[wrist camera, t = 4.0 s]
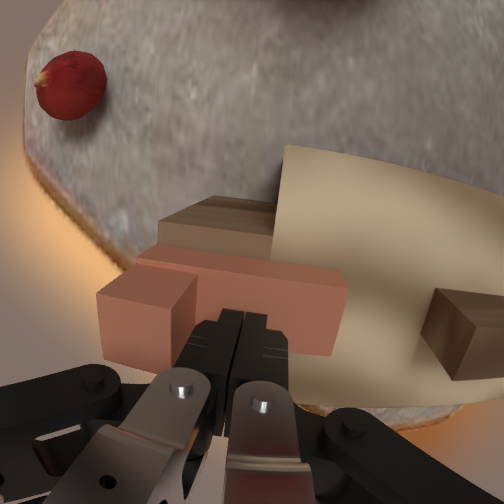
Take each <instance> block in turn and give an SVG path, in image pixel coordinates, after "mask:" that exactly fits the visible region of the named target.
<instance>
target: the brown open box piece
mask: <svg viewBox="0 0 504 504" xmlns="http://www.w3.org/2000/svg"><path fill="white" fill-rule="evenodd" d="M277 205H278V204H275V203H268V202H261V201H253V200H245V199H237V198H229V197H221V196H211V197H209V198H207V199H205V200H203V201H200V202H198V203H196V204H194V205H192V206H189V207H187V208H185V209H183V210H181V211H179V212H177V213H174V214H172V215H170V216H168V217H166V218H164V219H162V220H160V221H158V243H157V245H164V246H171V247H178V248H185V249H192V250H198V251H205V252H212V253H219V254H226V255H233V256H240V257H247V258H254V259H261V260H268V261H270V255H271V248H272V241H273V234H274V227H275V219H276V212H277Z"/></svg>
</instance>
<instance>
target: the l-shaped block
mask: <svg viewBox="0 0 504 504" xmlns="http://www.w3.org/2000/svg"><path fill="white" fill-rule="evenodd" d="M348 291H349V287H348V285H347V283H346V281H345V279H344V277H343V275H342V273H341V272H340V271H339V270H332V269H325V268H317V267H310V266H303V265H296V264H289V263H282V262H275V261H268V260H261V259H254V258H247V257H240V256H233V255H226V254H219V253H212V252H205V251H198V250H192V249H185V248H178V247H171V246H164V245H157V244H155V245H154V246H152V247H151V248H149V249H148V250H146V251H145V252H143V253H142V254H140V255H139V256H137V257H136V264H135V265H133V266H132V267H131V268H129V269H128V270H127V271H125V272H124V273H122V274H121V275H120V276H118V277H117V278H116V279H114V280H113V281H112V282H110V283H109V284H108V285H106V286H105V287H104V288H102V289H101V290H100V291H98V292H97V293H96V298H97V309H98V319H99V327H100V336H101V343H102V350H103V357H104V359H105V360H108V361H112V362H115V363H118V364H122V365H125V366H129V367H133V368H136V369H140V370H143V371H147V372H151V373H155V374H159V373H160V372H162V371H164V370H167V369H170V368H173V367H174V365H175V363H176V361H177V359H178V357H179V355H180V353H181V351H182V349H183V348H184V346H185V344H186V342H187V340H188V338H189V336H190V334H191V332H192V331H193V329H194V327H195V326H196V325H197V324H199V323H200V322H202V321H204V320H210V321H216V322H217V321H218V318H219V316H220V313H221V311H222V309H223V308H226V309H233V310H239V311H244V318H245V314H246V311H247V312H254V313H261V314H268V317H267V326H266V329H271V330H278V331H282V332H283V334H284V335H285V336H286V338H287V339H288V352H291V353H300V354H309V355H318V356H328V357H331V355H332V351H333V348H334V344H335V341H336V337H337V334H338V330H339V326H340V323H341V319H342V315H343V311H344V307H345V303H346V299H347V295H348Z"/></svg>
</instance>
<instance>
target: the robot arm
mask: <svg viewBox="0 0 504 504" xmlns="http://www.w3.org/2000/svg"><path fill="white" fill-rule="evenodd" d="M267 317H268V314H261V313H254V312H247V311H246V314H245V318H244V311H239V310H233V309H226V308H223V309H222V311H221V313H220V316H219V318H218V321H217V322H216V321H210V320H204V321H202V322H200V323H199V324H197V325H196V326H195V327H194V329H193V331H192V332H191V334H190V336H189V338H188V340H187V342H186V344H185V346H184V348H183V349H182V351H181V353H180V355H179V357H178V359H177V361H176V363H175V365H174V367H173V368H170V369H167V370H164V371H162V372H160V373H159V374H158V375H157V376H156V377H155V378H154V379H153V381H152V382H151V383H150V384H122V383H121V380H120V377H119V375H118V374H117V372H116V371H114V370H113V369H112V368H110V367H108V366H105V365H100V364H88V365H84V366H80V367H76V368H72V369H69V370H65V371H62V372H58V373H54V374H50V375H47V376H43V377H39V378H35V379H31V380H27V381H23V382H19V383H15V384H11V385H6V386H2V387H0V504H3V503H6V502H10V501H15V500H19V499H23V498H27V497H31V496H34V495H38V494H42V493H45V492H49V491H51V492H50V494H49V495H47V496H42V497H38V498H35V499H32V500H29V501H25V502H22V503H18V504H189V502H190V499H191V497H192V494H193V492H194V489H195V486H196V484H197V482H198V479H199V476H200V474H201V471H202V469H203V466H204V463H205V461H206V458H207V454H208V449H209V447H210V444H211V440H212V436H213V435H215V436H222V431H223V427H224V423H225V429H224V437H228V438H229V441H228V449H227V457H226V467H225V477H224V487H223V498H222V504H504V502H503V501H501V500H499V499H498V498H496V497H494V496H492V495H491V494H489V493H487V492H485V491H484V490H482V489H481V488H479V487H477V486H476V485H474V484H473V483H471V482H469V481H468V480H466V479H465V478H463V477H462V476H460V475H459V474H457V473H455V472H454V471H452V470H451V469H449V468H448V467H446V466H445V465H443V464H441V463H440V462H439V461H437V460H435V459H434V458H432V457H431V456H430V455H428V454H427V453H425V452H424V451H422V450H421V449H419V448H418V447H416V446H415V445H413V444H412V443H411V442H409V441H408V440H406V439H405V438H403V437H402V436H401V435H399V434H398V433H396V432H395V431H394V430H392V429H391V428H389V427H388V426H387V425H385V424H384V423H382V422H381V421H380V420H378V419H377V418H376V417H374V416H373V415H371V414H370V413H368V412H366V411H364V410H361V409H357V408H340V409H336V410H334V411H332V412H331V413H329V414H328V415H327V417H323V416H320V415H316V414H313V413H310V412H308V411H306V410H304V409H302V408H300V407H299V406H298V405H296V404H295V403H294V401H293V399H292V396H291V394H290V393H289V375H288V339H287V338H286V336H285V335H284V334H283V332H282V331H278V330H271V329H266V326H267ZM78 424H79V425H80V428H81V429H80V430H76V431H73V432H70V433H68V434H64V435H61V436H58V437H54V438H51V439H48V440H44V441H39V440H35V438H37V437H39V436H42V435H45V434H49V433H52V432H55V431H59V430H62V429H65V428H68V427H72V426H75V425H78Z"/></svg>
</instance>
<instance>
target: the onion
mask: <svg viewBox="0 0 504 504" xmlns="http://www.w3.org/2000/svg"><path fill="white" fill-rule="evenodd" d="M106 83H107V77H106V73H105V70H104V66H103V64H102V63H101V62H100V61H99V60H98V59H97V58H96V57H95V56H94V55H92V54H90V53H86V52H80V51H69V52H67V53H64V54H62V55H59V56H57V57H55V58H53V59H52V60H51V61H50V62H49V63H48V64H47V65H46V66H45V67H44V68H43V70H42V71H41V73H40V74H39V75H38V76H37V78H36V80H35V84H34V86H35V87H36V94H37V98H38V101H39V105H40V106H41V108H42V109H43V110H44V111H45V112H46V113H47V114H49V115H50V116H51V117H53V118H56V119H60V120H73V119H77V118H81V117H82V116H84V115H85V114H87V113H88V112H90V111H91V110H92V109H94V107H95V106H96V105H97V104H98V103H99V101H100V100H101V99H102V96H103V94H104V92H105V90H106Z"/></svg>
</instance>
